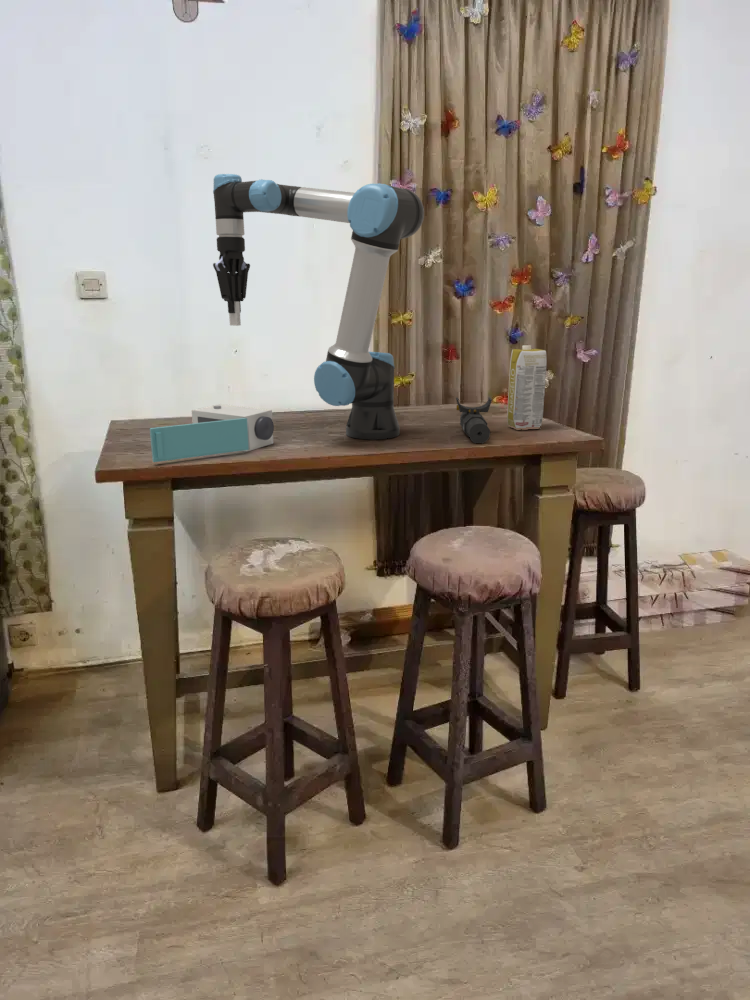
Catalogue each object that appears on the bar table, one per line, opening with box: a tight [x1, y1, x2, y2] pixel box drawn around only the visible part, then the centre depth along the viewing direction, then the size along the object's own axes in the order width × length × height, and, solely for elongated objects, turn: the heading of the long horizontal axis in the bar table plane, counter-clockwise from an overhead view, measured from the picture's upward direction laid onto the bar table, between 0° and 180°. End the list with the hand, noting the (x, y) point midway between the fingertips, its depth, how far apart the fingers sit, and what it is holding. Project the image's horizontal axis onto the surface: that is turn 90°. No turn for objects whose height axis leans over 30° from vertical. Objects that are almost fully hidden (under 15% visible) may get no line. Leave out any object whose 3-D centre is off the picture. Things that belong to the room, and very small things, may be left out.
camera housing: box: [191, 403, 275, 453], centre depth 192 cm, size 20×11×10 cm, turn 60°
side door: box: [149, 418, 250, 463], centre depth 177 cm, size 24×2×8 cm, turn 123°
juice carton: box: [506, 344, 547, 428], centre depth 210 cm, size 9×8×24 cm
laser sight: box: [455, 396, 493, 444], centre depth 203 cm, size 10×22×10 cm, turn 0°
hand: (235, 325), depth 205 cm, fingers closed
